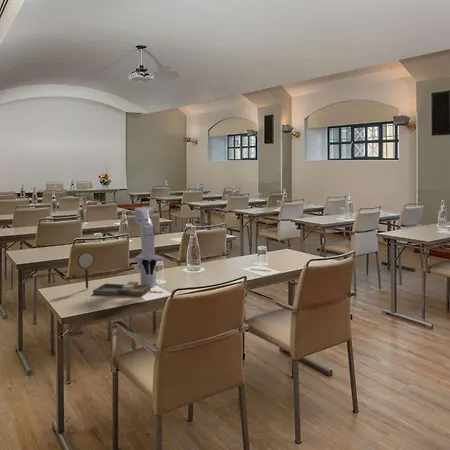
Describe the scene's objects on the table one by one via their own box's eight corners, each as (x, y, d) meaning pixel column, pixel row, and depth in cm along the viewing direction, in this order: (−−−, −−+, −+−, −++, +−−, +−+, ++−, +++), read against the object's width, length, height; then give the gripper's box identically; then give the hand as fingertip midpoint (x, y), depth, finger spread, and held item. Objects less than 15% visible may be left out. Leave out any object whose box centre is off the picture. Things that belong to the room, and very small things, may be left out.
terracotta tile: (130, 285, 258) (130, 281, 258) (138, 285, 257) (138, 281, 257) (127, 287, 253) (126, 283, 253) (135, 287, 253) (135, 284, 252)
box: (105, 287, 263) (105, 283, 263) (127, 288, 260) (127, 284, 260) (93, 294, 249) (92, 290, 249) (116, 295, 247) (116, 291, 246)
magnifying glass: (94, 287, 263) (92, 251, 260) (95, 288, 262) (94, 251, 259) (78, 290, 258) (76, 253, 255) (79, 290, 257) (78, 253, 254)
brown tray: (127, 289, 259) (127, 284, 259) (150, 290, 257) (150, 285, 256) (117, 295, 248) (117, 290, 247) (141, 296, 245) (141, 291, 245)
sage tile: (125, 288, 252) (125, 284, 252) (134, 288, 251) (133, 284, 251) (122, 290, 248) (122, 286, 247) (130, 290, 247) (130, 286, 246)
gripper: (132, 249, 248) (133, 275, 250) (159, 250, 245) (160, 276, 247) (137, 246, 255) (138, 272, 257) (164, 247, 252) (164, 273, 254)
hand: (149, 274), depth 252 cm, fingers closed
